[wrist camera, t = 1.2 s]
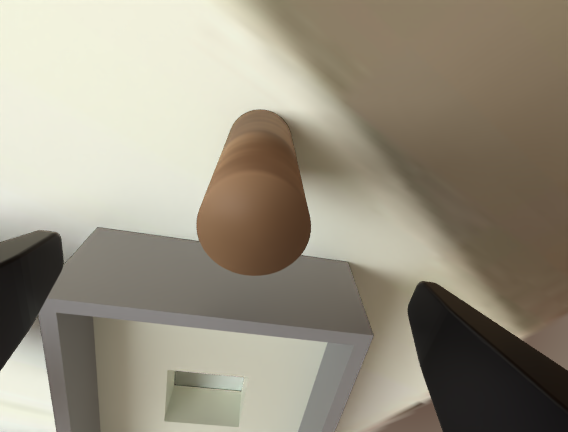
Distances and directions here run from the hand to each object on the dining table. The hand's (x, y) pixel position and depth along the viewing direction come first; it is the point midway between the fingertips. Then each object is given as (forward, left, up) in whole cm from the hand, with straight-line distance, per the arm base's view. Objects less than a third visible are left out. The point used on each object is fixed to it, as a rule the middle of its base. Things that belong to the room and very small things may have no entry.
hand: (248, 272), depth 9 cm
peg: (0, 0, -12) cm, 12 cm away
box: (-1, -18, -12) cm, 22 cm away
